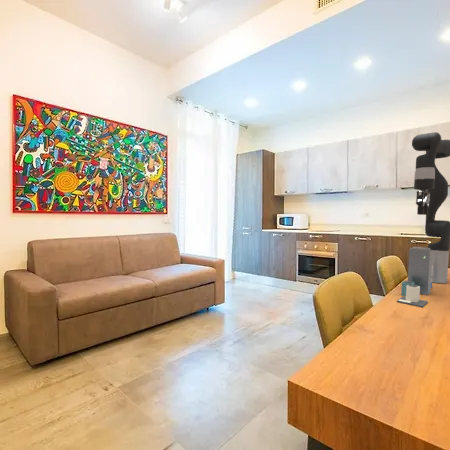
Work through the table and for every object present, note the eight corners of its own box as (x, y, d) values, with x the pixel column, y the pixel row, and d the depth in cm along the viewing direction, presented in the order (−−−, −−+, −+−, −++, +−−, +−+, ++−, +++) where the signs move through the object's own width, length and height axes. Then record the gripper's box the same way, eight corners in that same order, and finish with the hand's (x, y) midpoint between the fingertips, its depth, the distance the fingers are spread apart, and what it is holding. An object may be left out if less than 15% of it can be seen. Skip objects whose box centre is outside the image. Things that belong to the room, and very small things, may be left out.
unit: (410, 289, 139) (412, 246, 138) (430, 292, 134) (433, 248, 133) (407, 291, 135) (409, 247, 134) (427, 295, 129) (430, 249, 128)
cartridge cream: (408, 298, 121) (408, 283, 121) (419, 301, 118) (420, 285, 118) (405, 300, 118) (406, 285, 118) (417, 302, 115) (418, 287, 115)
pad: (402, 297, 124) (402, 296, 124) (427, 302, 118) (428, 301, 118) (396, 302, 118) (396, 300, 118) (422, 307, 112) (423, 305, 112)
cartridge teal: (403, 293, 131) (404, 279, 130) (413, 295, 128) (414, 281, 127) (401, 295, 128) (401, 281, 127) (411, 297, 125) (412, 283, 125)
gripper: (418, 180, 137) (416, 214, 138) (410, 177, 127) (408, 214, 128) (437, 179, 132) (435, 215, 132) (431, 176, 122) (429, 214, 122)
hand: (422, 214), depth 130 cm, fingers open, 8 cm apart
